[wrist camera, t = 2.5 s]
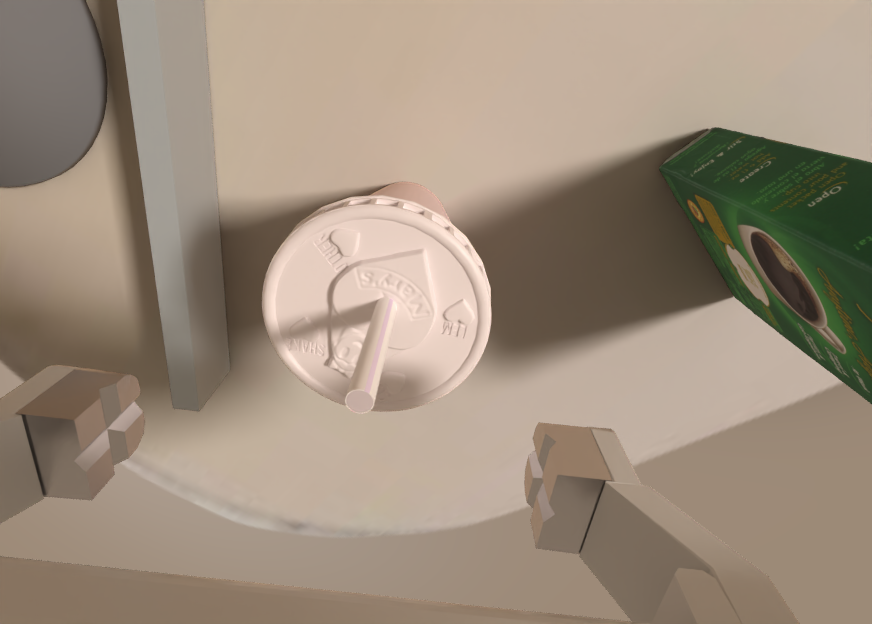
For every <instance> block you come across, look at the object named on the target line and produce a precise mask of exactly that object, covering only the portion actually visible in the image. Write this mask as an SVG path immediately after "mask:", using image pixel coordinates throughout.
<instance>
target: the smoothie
mask: <svg viewBox="0 0 872 624" xmlns="http://www.w3.org/2000/svg"><path fill="white" fill-rule="evenodd" d="M262 310H263V318H264V322H265V327H266V330H267V333H268V336H269V338H270V340H271V343H272V345H273V347H274V349H275V350H276V352H277V354H278V355H279V357H280V358H281V360H282V361H283V363H284V364H285V365H286V366H287V367H288V369H289V370H290V371H291V372H292V373H293V374H294V375H295V376H296V377H297V378H298V379H299V380H300V381H302V382H303V383H304V384H305V385H307V386H308V387H309V388H311V389H312V390H314V391H315V392H317V393H319V394H320V395H322V396H324V397H326V398H328V399H330V400H332V401H335V402H337V403H340V404H342V405H346V406H347V407H348V408H349V409H350V410H351V411H353V412H355V413H360V414H361V413H367V412H369V411H400V410H406V409H411V408H415V407H419V406H422V405H425V404H428V403H430V402H433V401H435V400H437V399H439V398H441V397H442V396H444V395H446V394H447V393H449V392H450V391H452V390H453V389H455V388H456V387H457V386H458V385H459V384H460V383H462V382H463V381H464V380H465V379H466V378H467V376H468V375H469V374H470V373H471V372H472V370H473V369H474V368H475V366H476V365H477V363H478V362H479V360H480V358H481V356H482V354H483V352H484V350H485V347H486V344H487V341H488V338H489V333H490V327H491V288H490V284H489V281H488V278H487V275H486V271H485V268H484V265H483V262H482V260H481V258H480V257H479V255H478V254H477V252H476V251H475V249H474V248H473V246H472V245H471V243H470V242H469V240H468V238H467V237H466V236H465V235H464V234H463V233H462V232H461V231H459V230H458V229H457V228H456V227H455V226H454V225H453V224H452V223H451V222H450V220H449V218H448V216H447V214H446V212H445V210H444V208H443V206H442V204H441V202H440V201H439V199H438V198H437V197H436V196H435V195H434V194H433V193H432V192H431V191H430V190H428V189H427V188H425V187H423V186H421V185H419V184H415V183H411V182H398V183H393V184H390V185H388V186H386V187H384V188H382V189H380V190H378V191H376V192H374V193H372V194H371V195H369V196H356V197H349V198H346V199H343V200H340V201H337V202H334V203H331V204H328V205H325V206H322V207H321V208H319V209H318V210H317V211H315V212H314V213H312V214H311V215H309V216H308V217H307V218H305V219H304V220H302V221H301V222H299V223H298V224H297V225H296V227H295V228H294V229H293V230H292V232H291V233H290V234H289V236H288V237H287V238H286V239H285V241H284V242H283V243H282V245H281V246H280V247H279V249H278V251H277V252H276V254H275V255H274V257H273V259H272V261H271V263H270V265H269V267H268V270H267V273H266V276H265V280H264V285H263V293H262Z"/></svg>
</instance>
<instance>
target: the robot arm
mask: <svg viewBox="0 0 872 624" xmlns="http://www.w3.org/2000/svg"><path fill="white" fill-rule="evenodd" d="M140 394H141V392H140V387H139V382H138V379H137V378H136V377H134V376H133V375H132V374H125V373H117V372H110V371H103V370H96V369H88V368H79V367H73V366H64V365H53V366H48V367H46V368H45V369H43V370H42V371H40V372H39V373H37V374H36V375H35V376H33V377H32V378H30V379H29V380H27V381H26V382H24V383H23V384H21V385H20V386H18V387H17V388H16V389H14V390H12V391H11V392H9V393H8V394H6V395H5V396H4V397H2V398H1V399H0V524H1V523H2V522H4V521H6V520H8V519H9V518H11V517H13V516H15V515H16V514H18V513H20V512H22V511H23V510H25V509H27V508H29V507H30V506H32V505H34V504H36V503H38V502H39V501H41V500H43V499H44V497H57V498H70V499H82V500H93V499H94V497H95V496H96V495H97V494H98V493H99V492H100V491H101V489H102V488H103V487H104V486H105V485H106V484H107V483H108V481H109V480H110V479H111V478H112V477H113V476H114V465H115V464H117V463H120V462H122V461H124V460H126V459H128V458H129V457H130V456H131V455H132V454H133V453H134V451H135V450H136V449H137V448H138V445H139V443H140V441H141V438H142V436H143V434H144V425H145V420H144V412H143V411H142V410H141V408H140V407H139V406H138V405H137V404H136V403H135V402H134V401H135V400H136V399H137V397H138V396H139V395H140ZM533 441H534V446H535V451H533V452H532V453H531V454H530V455H529V456H528V460H527V464H526V469H525V481H524V484H525V495H526V501H527V503H528V504H529V505H530V506H531V507H532V508H533V512H532V515H531V519H530V521H531V526H532V531H533V536H534V541H535V546H536V548H538V549H545V550H552V551H559V552H567V553H574V554H580V558H581V559H582V560H583V561H584V563H585V564H586V565H587V566H588V568H589V569H590V570H591V571H592V572H593V574H594V575H595V576H596V578H597V579H598V580H599V581H600V583H601V584H602V585H603V586H604V587H605V589H606V590H607V591H608V592H609V594H610V595H611V596H612V597H613V599H614V600H615V601H616V602H617V604H618V605H619V606H620V607H621V609H622V610H623V611H624V612H625V614H626V615H627V616H628V617H629V618H630V620H631V621H632V622H631V621H621V620H611V619H601V618H591V617H582V616H572V615H562V614H552V613H542V612H533V611H523V610H513V609H502V608H493V607H483V606H474V605H463V604H455V603H446V602H435V601H427V600H417V599H407V598H398V597H389V596H380V595H370V594H361V593H351V592H342V591H332V590H323V589H313V588H303V587H294V586H284V585H274V584H265V583H255V582H245V581H235V580H226V579H216V578H206V577H196V576H187V575H177V574H167V573H158V572H148V571H138V570H128V569H119V568H109V567H99V566H90V565H79V564H71V563H61V562H51V561H42V560H32V559H22V558H13V557H2V556H0V624H800V623H799V622H798V620H797V619H796V617H795V616H794V614H793V613H792V611H791V610H790V608H789V607H788V605H787V604H786V602H785V601H784V599H783V598H782V596H781V595H780V593H779V592H778V590H777V589H776V587H775V586H774V584H773V583H772V581H771V579H770V578H769V576H767V575H766V574H765V573H763V572H762V571H761V570H760V569H758V568H757V567H756V566H754V565H753V564H752V563H750V562H749V561H748V560H746V559H745V558H744V557H742V556H741V555H740V554H738V553H737V552H736V551H734V550H733V549H732V548H731V547H729V546H728V545H726V544H725V543H724V542H723V541H721V540H720V539H719V538H717V537H716V536H715V535H713V534H712V533H711V532H709V531H708V530H707V529H705V528H704V527H703V526H701V525H700V524H699V523H697V522H696V521H695V520H693V519H692V518H691V517H689V516H688V515H687V514H685V513H684V512H683V511H682V510H680V509H679V508H677V507H676V506H675V505H674V504H672V503H671V502H670V501H668V500H667V499H666V498H664V497H663V496H662V495H660V494H659V493H658V492H657V491H655V490H654V489H653V488H651V487H650V486H646V485H641V483H640V481H639V479H638V477H637V475H636V473H635V471H634V469H633V467H632V465H631V463H630V461H629V459H628V457H627V455H626V453H625V451H624V449H623V447H622V445H621V443H620V441H619V439H618V437H617V435H616V433H615V432H614V431H613V430H612V429H607V428H595V427H578V426H568V425H559V424H549V423H540V422H539V423H538V425H537V426H536V428H535V432H534V436H533Z"/></svg>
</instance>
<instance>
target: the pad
mask: <svg viewBox="0 0 872 624" xmlns="http://www.w3.org/2000/svg"><path fill="white" fill-rule="evenodd" d="M106 102H107V73H106V63H105V58H104V53H103V48H102V44H101V40H100V37H99V34H98V31H97V28H96V24H95V21H94V19H93V17H92V14H91V12H90V10H89V7H88V5H87V3H86V1H85V0H0V186H2V187H14V186H25V185H30V184H34V183H38V182H42V181H46V180H49V179H52V178H54V177H56V176H59V175H61V174H63V173H64V172H66V171H67V170H69V169H71V168H72V167H73V166H75V165H76V164H77V163H78V162H79V161H80V160H81V159H82V158H83V157H84V156H85V155H86V153H87V152H88V151H89V149H90V148H91V147H92V145H93V143H94V141H95V139H96V137H97V135H98V133H99V131H100V128H101V125H102V122H103V119H104V114H105V108H106Z"/></svg>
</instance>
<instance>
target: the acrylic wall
mask: <svg viewBox="0 0 872 624" xmlns="http://www.w3.org/2000/svg"><path fill="white" fill-rule="evenodd" d="M117 5H118V13H119V20H120V27H121V34H122V42H123V49H124V56H125V63H126V71H127V78H128V85H129V92H130V100H131V107H132V114H133V121H134V129H135V136H136V143H137V150H138V158H139V165H140V172H141V179H142V187H143V194H144V201H145V208H146V216H147V223H148V230H149V237H150V245H151V252H152V259H153V266H154V274H155V281H156V288H157V295H158V303H159V310H160V317H161V324H162V332H163V339H164V346H165V353H166V361H167V368H168V375H169V382H170V390H171V397H172V404H173V408H174V409H183V410H192V411H200V410H201V409H202V407H203V406H204V405H205V403H206V402H207V401H208V399H209V398H210V397H211V395H212V394H213V393H214V391H215V390H216V389H217V387H218V386H219V385H220V383H221V382H222V381H223V379H224V378H225V377H226V375H227V374H228V373H229V371H230V360H229V346H228V333H227V319H226V305H225V291H224V277H223V263H222V250H221V236H220V222H219V208H218V194H217V180H216V167H215V153H214V139H213V125H212V111H211V98H210V84H209V70H208V56H207V42H206V28H205V15H204V1H203V0H117Z"/></svg>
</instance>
